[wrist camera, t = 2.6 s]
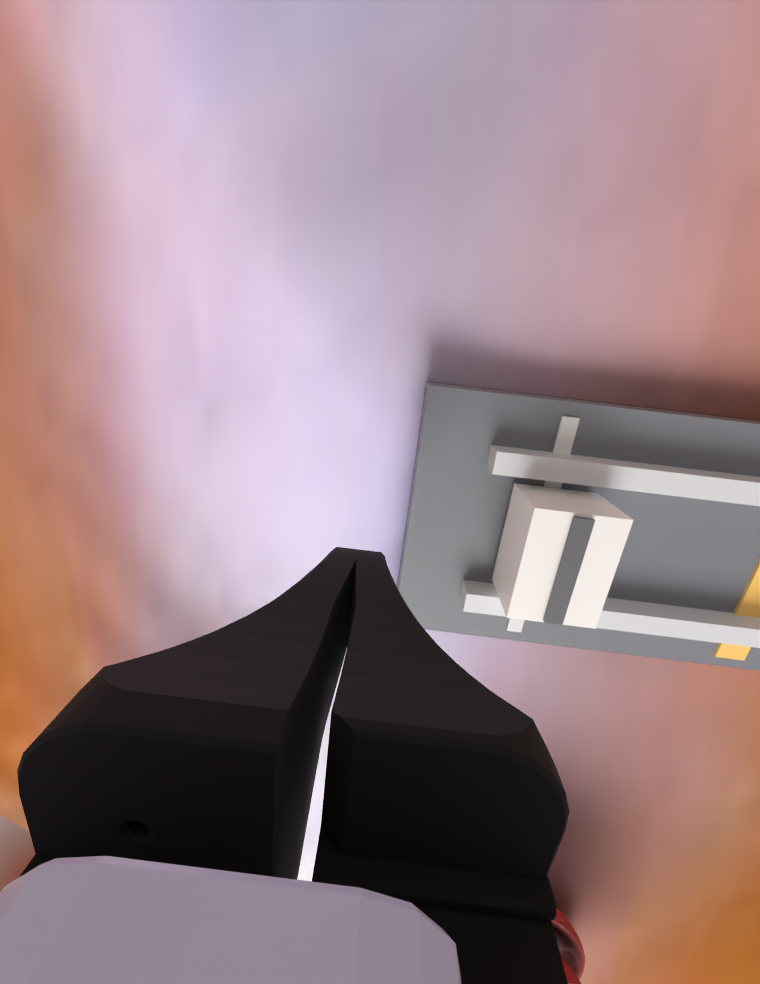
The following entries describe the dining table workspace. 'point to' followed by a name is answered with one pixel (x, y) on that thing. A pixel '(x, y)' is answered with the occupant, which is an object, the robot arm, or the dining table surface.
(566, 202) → the dining table surface
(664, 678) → the dining table surface
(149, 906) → the robot arm
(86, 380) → the dining table surface
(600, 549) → the fader tab
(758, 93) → the dining table surface
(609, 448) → the board
